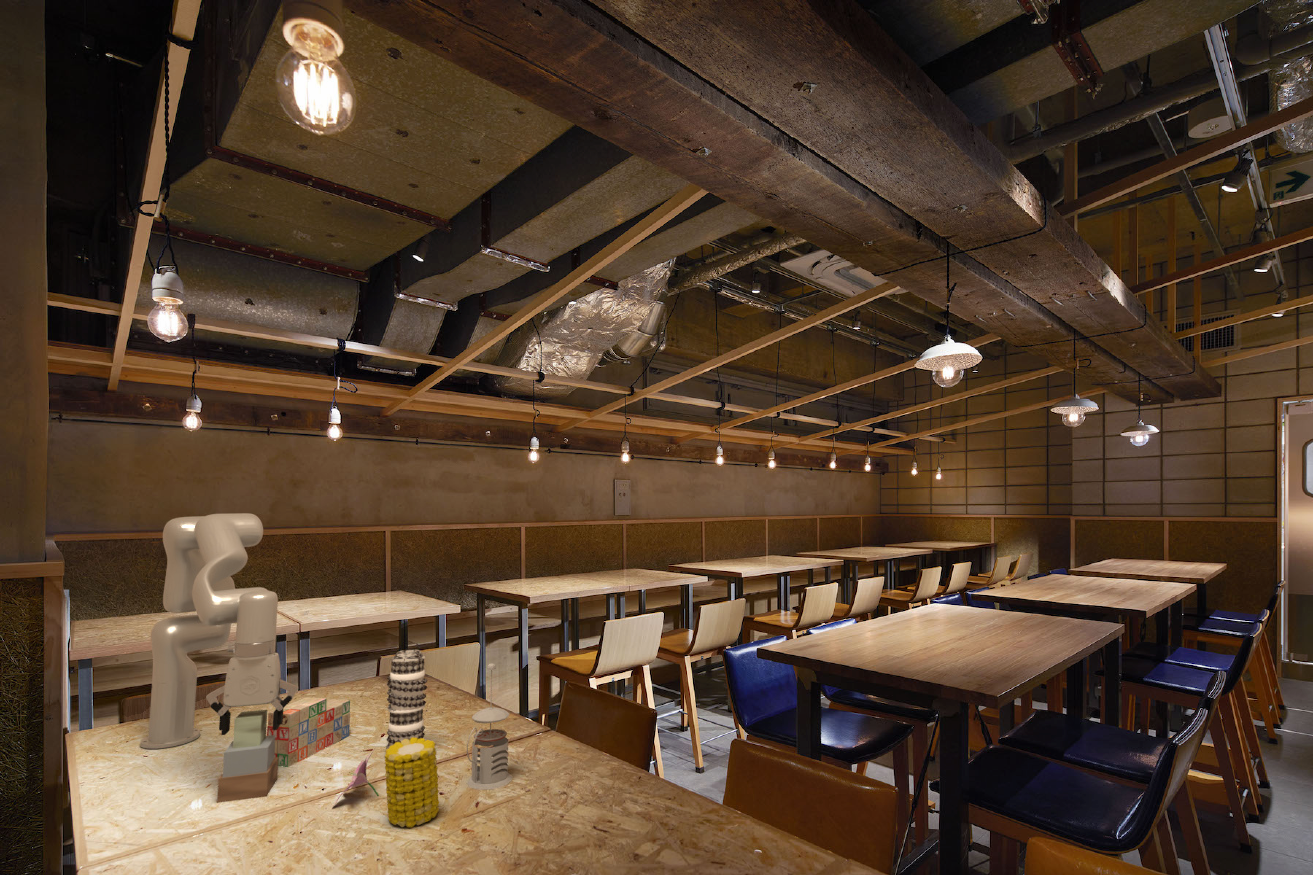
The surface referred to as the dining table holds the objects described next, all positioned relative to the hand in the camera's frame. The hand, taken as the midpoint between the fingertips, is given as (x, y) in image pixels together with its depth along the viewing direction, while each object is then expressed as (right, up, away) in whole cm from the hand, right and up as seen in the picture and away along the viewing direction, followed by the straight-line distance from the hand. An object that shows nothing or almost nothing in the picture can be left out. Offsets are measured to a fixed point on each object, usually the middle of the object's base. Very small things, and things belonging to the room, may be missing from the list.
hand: (251, 730), depth 141 cm
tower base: (0, -13, -1) cm, 13 cm away
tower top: (0, -8, -1) cm, 8 cm away
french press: (+50, -12, +2) cm, 52 cm away
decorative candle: (+27, -14, +16) cm, 34 cm away
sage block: (0, -3, 0) cm, 3 cm away
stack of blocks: (+1, -15, +22) cm, 27 cm away
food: (+40, -11, -15) cm, 44 cm away
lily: (+25, -12, -5) cm, 29 cm away
